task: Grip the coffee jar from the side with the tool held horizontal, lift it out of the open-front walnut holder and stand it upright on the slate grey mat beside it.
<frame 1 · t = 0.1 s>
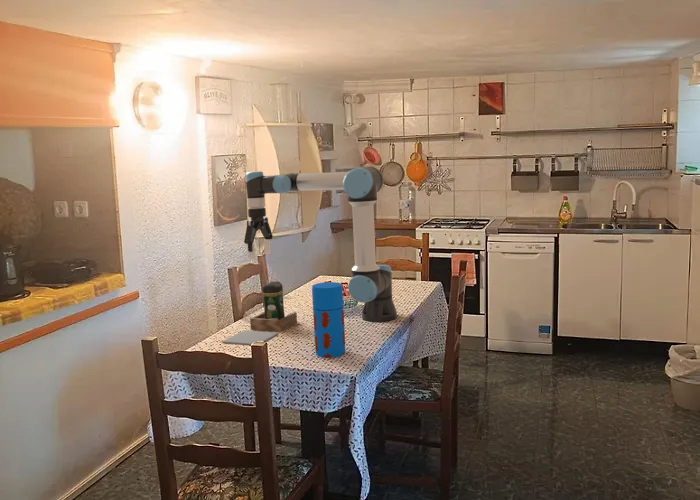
hand: (260, 256, 291), 28 cm above the table, tool pointing down, fingers open, 13 cm apart
thermos: (330, 353, 241), on the table
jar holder: (274, 325, 284), on the table
slate mat: (250, 338, 265), on the table
coffee jar: (275, 326, 284), on the table
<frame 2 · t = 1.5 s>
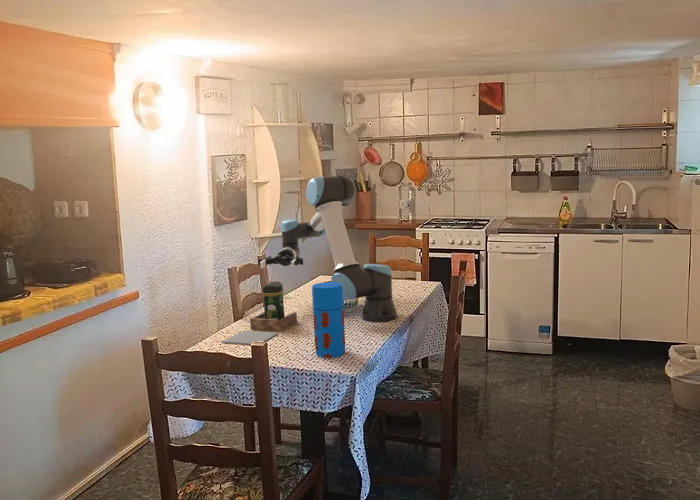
hand: (276, 265, 289), 24 cm above the table, tool horizontal, fingers open, 13 cm apart
nothing on the table moved.
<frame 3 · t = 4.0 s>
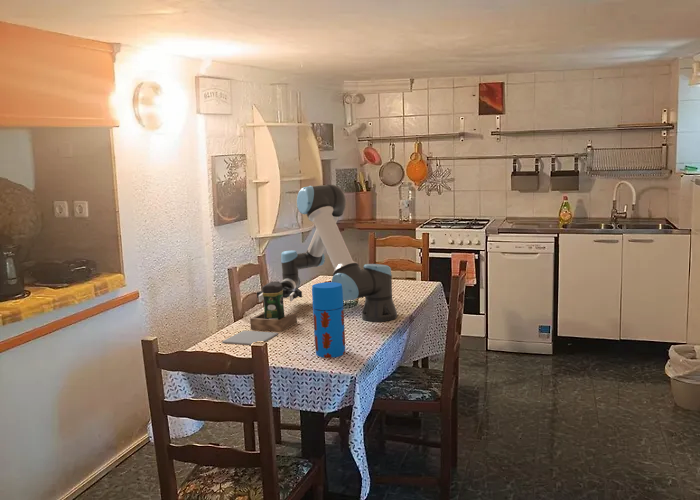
hand: (274, 298, 287), 10 cm above the table, tool horizontal, fingers open, 13 cm apart
nothing on the table moved.
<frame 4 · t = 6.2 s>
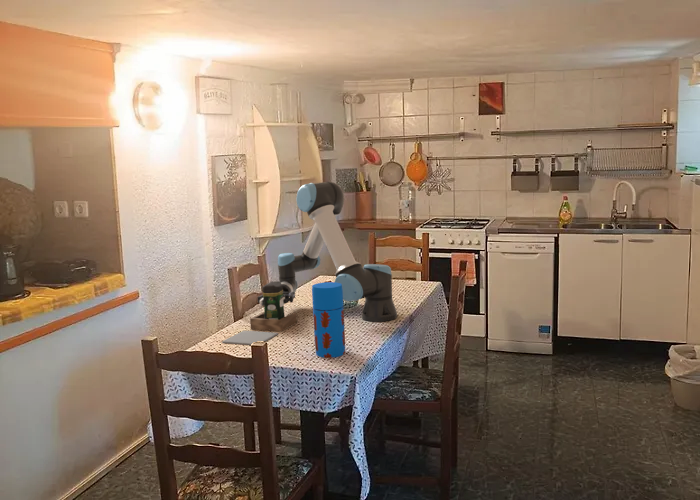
hand: (270, 303, 277), 11 cm above the table, tool horizontal, fingers closed on coffee jar, 8 cm apart
coffee jar: (275, 325, 284), on the table, touching gripper
everything else where it was.
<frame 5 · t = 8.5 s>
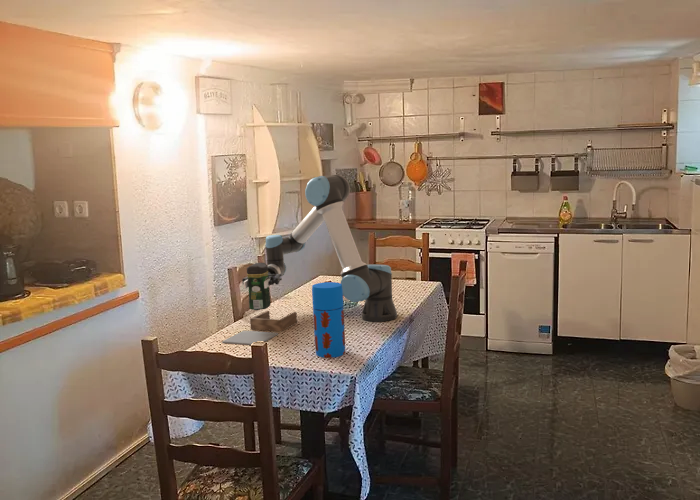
hand: (254, 285, 269), 20 cm above the table, tool horizontal, fingers closed on coffee jar, 8 cm apart
coffee jar: (259, 308, 275), point 9 cm above the table, touching gripper
everything else where it was.
when the fingers open (13 cm above the table, at t = 11.2 s): coffee jar drops 1 cm, resting on slate mat.
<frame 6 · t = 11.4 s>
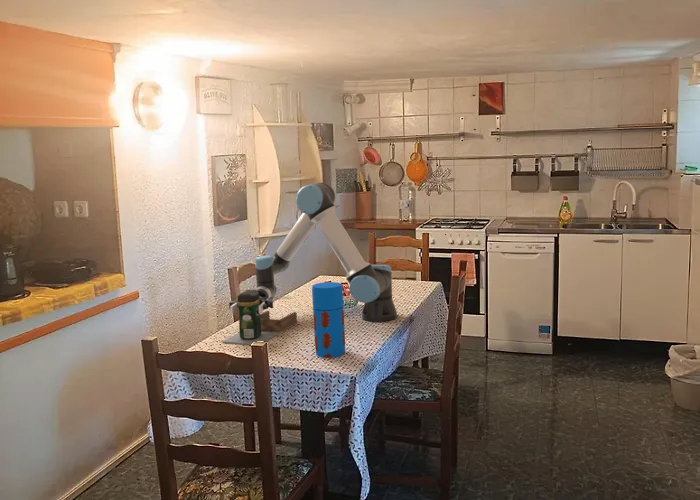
hand: (245, 310, 259), 13 cm above the table, tool horizontal, fingers open, 10 cm apart
coffee jar: (250, 337, 265), resting on slate mat
everything else where it was.
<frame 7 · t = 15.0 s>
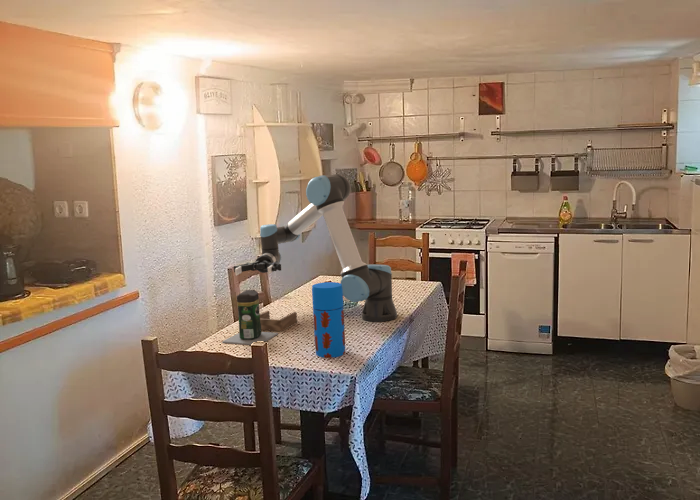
hand: (252, 271, 271), 25 cm above the table, tool horizontal, fingers open, 13 cm apart
nothing on the table moved.
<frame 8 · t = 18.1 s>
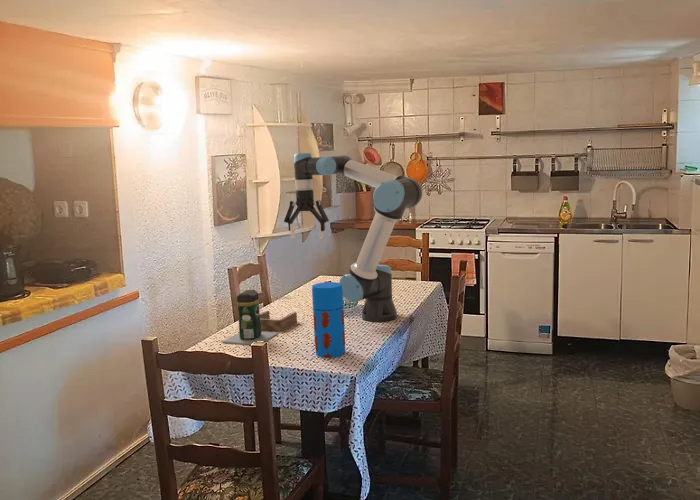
hand: (307, 238, 291), 35 cm above the table, tool pointing down, fingers open, 13 cm apart
nothing on the table moved.
at the end: coffee jar inside the target area on the slate mat (0.1 cm from its centre), point 0.4 cm above the slate mat's base; coffee jar tilted 0°; the gripper is holding nothing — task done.
